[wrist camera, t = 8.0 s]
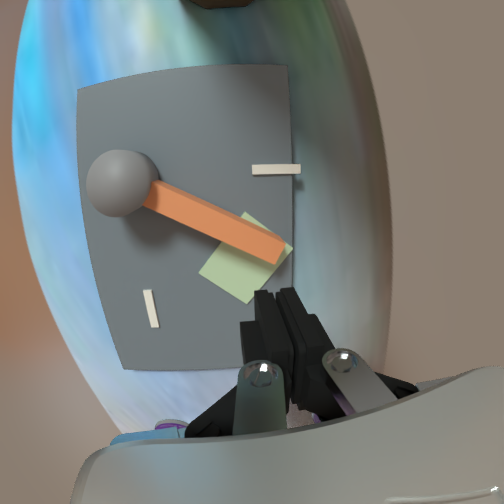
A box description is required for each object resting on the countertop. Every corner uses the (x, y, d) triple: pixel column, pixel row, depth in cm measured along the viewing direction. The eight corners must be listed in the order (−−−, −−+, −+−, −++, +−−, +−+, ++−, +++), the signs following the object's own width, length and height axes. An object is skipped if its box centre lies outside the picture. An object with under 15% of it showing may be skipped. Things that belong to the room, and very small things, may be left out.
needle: (97, 196, 15) (78, 202, 13) (118, 143, 14) (100, 140, 12) (261, 269, 18) (268, 287, 15) (287, 220, 17) (300, 231, 15)
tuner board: (85, 92, 14) (76, 88, 13) (290, 71, 15) (295, 65, 14) (126, 360, 21) (123, 370, 20) (290, 352, 22) (294, 362, 21)
